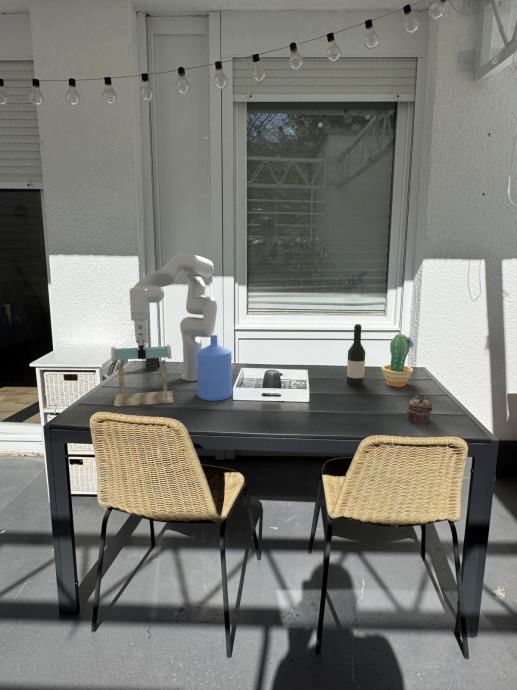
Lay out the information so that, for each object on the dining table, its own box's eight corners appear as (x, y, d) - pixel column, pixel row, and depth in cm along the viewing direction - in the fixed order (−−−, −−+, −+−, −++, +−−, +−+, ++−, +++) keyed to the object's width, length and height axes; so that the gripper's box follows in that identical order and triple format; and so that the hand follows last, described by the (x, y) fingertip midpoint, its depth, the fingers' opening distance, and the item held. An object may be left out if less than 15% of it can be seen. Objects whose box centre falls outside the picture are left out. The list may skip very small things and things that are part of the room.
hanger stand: (172, 393, 226) (170, 359, 223) (173, 402, 215) (172, 366, 211) (116, 397, 221) (113, 362, 217) (114, 406, 209) (111, 369, 206)
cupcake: (425, 415, 200) (427, 391, 198) (434, 424, 190) (436, 399, 188) (402, 415, 200) (403, 392, 197) (410, 424, 190) (412, 400, 188)
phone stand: (156, 371, 264) (155, 349, 261) (145, 371, 264) (144, 349, 261) (160, 367, 273) (159, 346, 270) (149, 366, 273) (148, 345, 270)
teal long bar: (170, 356, 219) (170, 343, 218) (171, 359, 214) (170, 346, 212) (112, 359, 214) (111, 346, 213) (111, 362, 208) (110, 349, 207)
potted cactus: (405, 390, 231) (409, 339, 226) (375, 384, 241) (377, 334, 235) (417, 383, 243) (420, 333, 238) (387, 377, 253) (390, 330, 247)
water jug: (227, 402, 215) (226, 340, 209) (193, 400, 218) (191, 338, 212) (235, 391, 230) (235, 333, 223) (203, 389, 233) (202, 331, 227)
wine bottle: (362, 381, 245) (365, 322, 239) (364, 386, 237) (367, 326, 231) (346, 381, 246) (348, 322, 239) (347, 386, 238) (349, 325, 231)
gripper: (149, 319, 202) (151, 361, 206) (148, 313, 218) (150, 352, 222) (130, 319, 201) (132, 362, 205) (131, 313, 217) (133, 353, 221)
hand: (142, 357), depth 213 cm, fingers closed on teal long bar, 4 cm apart
